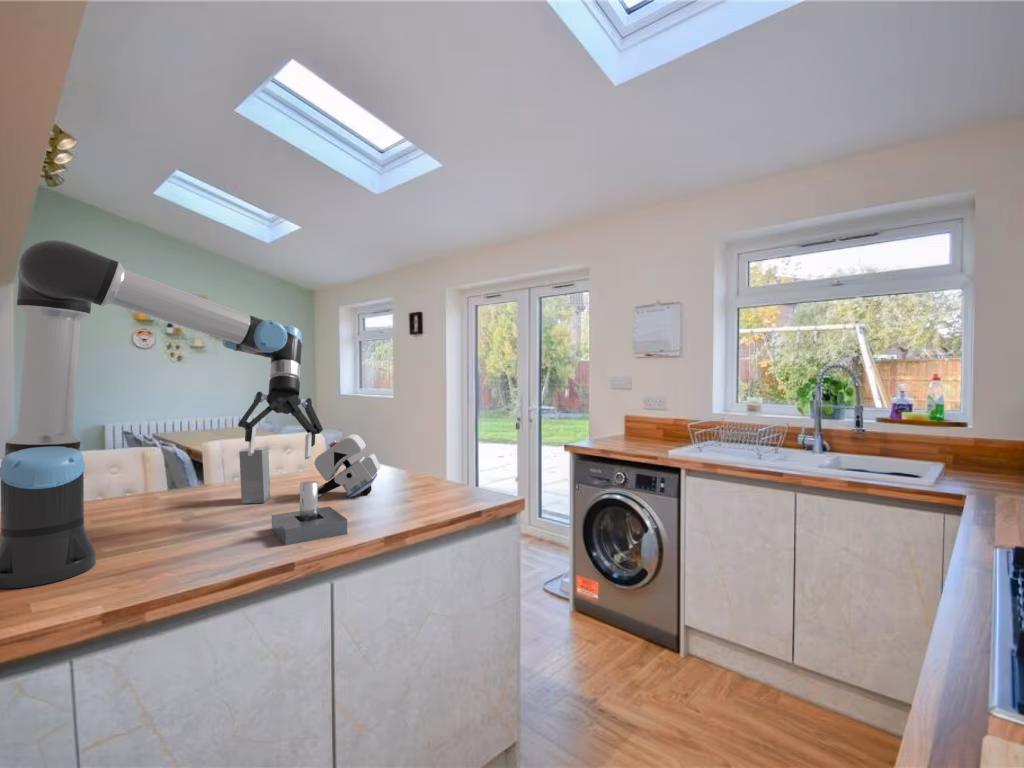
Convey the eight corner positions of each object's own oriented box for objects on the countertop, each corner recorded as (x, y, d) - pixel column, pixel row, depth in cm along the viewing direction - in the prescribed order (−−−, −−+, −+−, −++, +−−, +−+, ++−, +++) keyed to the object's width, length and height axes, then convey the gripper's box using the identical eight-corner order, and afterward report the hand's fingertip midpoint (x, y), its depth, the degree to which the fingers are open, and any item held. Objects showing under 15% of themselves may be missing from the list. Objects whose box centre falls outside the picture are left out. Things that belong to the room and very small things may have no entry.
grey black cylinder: (301, 535, 120) (301, 485, 120) (296, 530, 124) (297, 482, 123) (320, 532, 123) (320, 483, 123) (315, 527, 126) (315, 479, 126)
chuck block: (285, 545, 113) (285, 529, 113) (271, 529, 125) (271, 515, 125) (347, 533, 122) (347, 519, 122) (329, 519, 133) (329, 506, 133)
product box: (264, 503, 148) (264, 449, 148) (237, 504, 146) (237, 450, 146) (271, 496, 156) (271, 445, 156) (246, 497, 155) (246, 446, 154)
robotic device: (336, 514, 164) (299, 464, 162) (391, 476, 166) (356, 426, 164) (328, 523, 154) (289, 470, 152) (387, 483, 156) (349, 430, 154)
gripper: (326, 391, 146) (324, 462, 138) (230, 378, 131) (221, 457, 123) (335, 381, 141) (334, 455, 133) (236, 366, 126) (228, 448, 118)
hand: (280, 456), depth 128 cm, fingers open, 13 cm apart
